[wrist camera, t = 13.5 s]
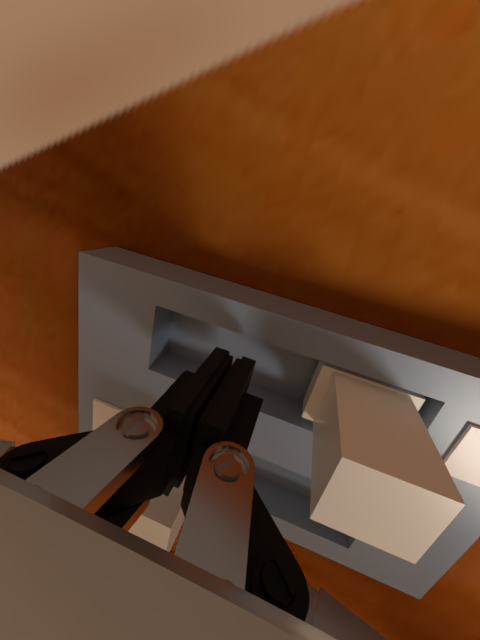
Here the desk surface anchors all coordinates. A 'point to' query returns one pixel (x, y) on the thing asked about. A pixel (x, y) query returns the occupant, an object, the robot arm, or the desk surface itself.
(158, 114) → the desk surface
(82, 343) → the switch bank
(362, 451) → the tab
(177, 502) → the tab
